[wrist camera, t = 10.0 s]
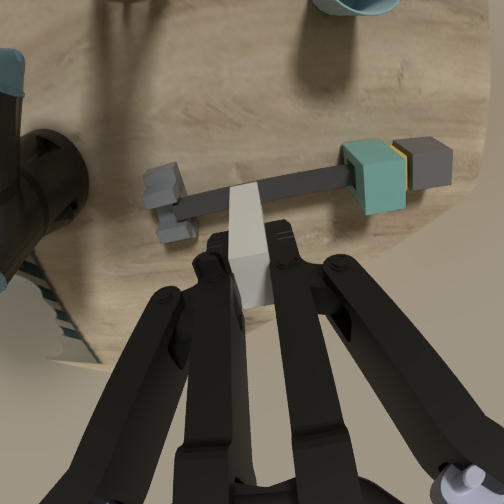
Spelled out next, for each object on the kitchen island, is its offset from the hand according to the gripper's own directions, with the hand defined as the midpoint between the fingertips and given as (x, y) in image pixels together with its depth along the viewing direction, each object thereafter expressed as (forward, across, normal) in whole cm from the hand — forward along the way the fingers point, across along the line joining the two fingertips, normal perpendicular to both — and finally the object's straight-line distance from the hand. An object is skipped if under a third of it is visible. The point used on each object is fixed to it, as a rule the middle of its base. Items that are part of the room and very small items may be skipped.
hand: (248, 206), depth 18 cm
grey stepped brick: (+22, -11, -8) cm, 26 cm away
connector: (+21, +22, -7) cm, 32 cm away
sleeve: (+22, +14, -8) cm, 27 cm away
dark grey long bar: (+20, +7, -8) cm, 23 cm away
